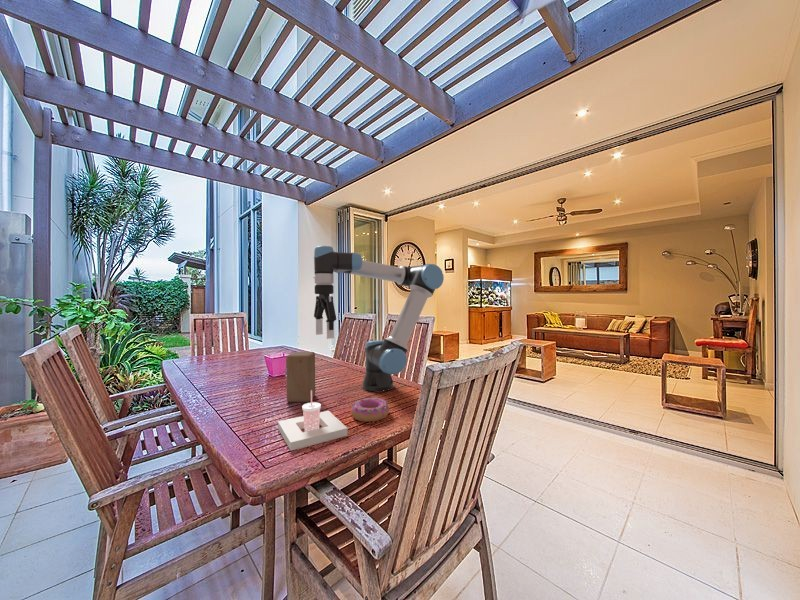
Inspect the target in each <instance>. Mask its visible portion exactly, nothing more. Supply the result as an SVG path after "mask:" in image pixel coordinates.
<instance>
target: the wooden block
mask: <svg viewBox="0 0 800 600" xmlns="http://www.w3.org/2000/svg"><path fill="white" fill-rule="evenodd" d="M285 367H286V368H285V369H286V370H285V371H286V372H285V375H286V378H285V379H286V402H288V403H310V402H311V390H312V399H313V398H314V397H315V396H316V353H315V352H314V351H294V352H292V353H289V354H287V356H286V357H285Z"/></svg>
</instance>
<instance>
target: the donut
mask: <svg viewBox="0 0 800 600" xmlns="http://www.w3.org/2000/svg"><path fill="white" fill-rule="evenodd" d="M351 406H352V407H351V415H352V417H353V418H354V419H355V420H357V421H361V422H365V423H370V422H371V421H372V422H376V421H381V420H382V419H384V418H386V417H387V416H388V415H389V413H390V405H389V402H388V401H387V400H385V399H382V398H379V397H366V398H362V399H359V400H356V401H355V402H353V403H352V405H351Z"/></svg>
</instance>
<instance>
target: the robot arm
mask: <svg viewBox="0 0 800 600" xmlns="http://www.w3.org/2000/svg"><path fill="white" fill-rule="evenodd" d="M313 263H314V269H313V270H314V275H313V279H314V284H315V285H314V294H315V295H316V296H315V307H314V314H313V318H314V319H315V335H317V336H319V335H323V334H324V333H323V331H324V330H323V327H324V326H323V324H324V322H323V320H324V316H323V314H324V313H325V317H326V320H325V322H326V339H327V340H330V339H335V321H337V316H336V309H335V303H334V296H330V295H333V294H334V291H335V290H334V287H335V286H334V285H333V284H334V283H335V281H334V279H335V278H334V275H335V274H334V273H337V274H341V273H342V274H346V275H347V274H348V275H355V276H358V277H359V276H360V277H365V278H366V277H367V278H370V279H371V278H372V279H376V280H383V281H388V282H393V283H396V284H397V285H399V286H404V287H408V288H410V292H409V294H408V295H407V299H406V300H405V302H404V305H403V307H402V309H401V311H400V314H399V316H398V317H397V320H396V321H395V323H394V326H393V329H392V330H391V333H390V334H389V336H388V337H385V338H384V339H382V340H381V339H379V340H378V339H377V340H369V341H367V342H365V349H364V350H365V374H364V376H363V381H362V386H361V387H363V388H362V389H363V390H364V389H365V390H364V391H366V390H369V391H368V392H371V391H382V392H384V391H383V390H388V389H390V390H392V389H393V388H394V380H393V376H392V375H397V374H399V373H400V372H402V371H403V370H404V368H406V365H407V361H408V358H407V355H406V354H407V352H408V350H409V349H408V345H407V344H408V342H409V339H410V338H411V336H412V333H413V331H414V328H415V327H416V324H417V322H418V321H419V318H420V315H421V314H422V311H423V310H424V307H425V305H426V303H427V300H428V299H429V298H431V297H433V295H434V293H435V291H436V290H438V289H439V288H441V286H442V285H443V283H444V280H445V279H444V277H445V276H444V273H443V270H442V269H441V268H440V267H439V265H436V264H435V263H434V264H433V263H426V264H422V265H413V266H405V265H400V266H395V265H389V264H385V263H380V262H374V261H369V260H364V259H363V258H362V255H361V254H360V253H359V252H357V253H356V252H345V251H344V252H341V251H340V252H338V251H334V248H333V246H330V245H317V246H316V247H314V256H313ZM392 387H393V388H392ZM391 388H392V389H391ZM388 391H389V390H388Z"/></svg>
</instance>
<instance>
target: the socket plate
mask: <svg viewBox="0 0 800 600" xmlns="http://www.w3.org/2000/svg"><path fill="white" fill-rule="evenodd" d="M319 426H321V427H319V429H315V430H311V431H307V432H305V431H302V429H304V416H303V415H302V416H296V417H292V418H288V419H282V420H278V421H277V430H278V431H279V433H280V435H281V437H282V438H283V440H284V441H285V443H286V445H287V447H288V449H289V451H295V450H299V449H303V448H307V447H310V446H313V445H317V444H321V443H326V442H330V441H333V440H336V439H340V438H344V437H348V427H347V426H346V425H345V424H343V422H341V421H340V420H339V419H338V418H337V417H336V416H335V415H334V414H333V413H332V412H331V411H330V410H324V411H320V419H319ZM304 430H305V429H304Z"/></svg>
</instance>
